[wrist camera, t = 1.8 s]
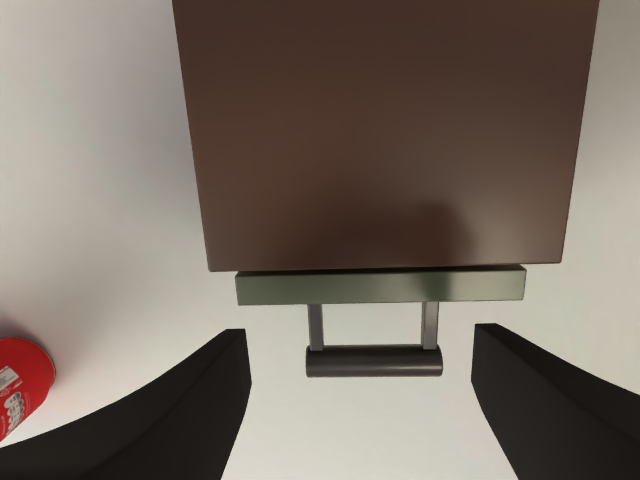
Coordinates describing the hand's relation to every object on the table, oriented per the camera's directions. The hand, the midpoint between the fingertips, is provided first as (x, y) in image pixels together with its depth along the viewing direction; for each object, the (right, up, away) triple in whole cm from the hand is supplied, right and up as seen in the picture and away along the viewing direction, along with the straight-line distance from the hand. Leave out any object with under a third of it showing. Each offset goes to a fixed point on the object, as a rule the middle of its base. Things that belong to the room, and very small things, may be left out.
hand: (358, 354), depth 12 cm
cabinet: (+1, +11, +6) cm, 13 cm away
